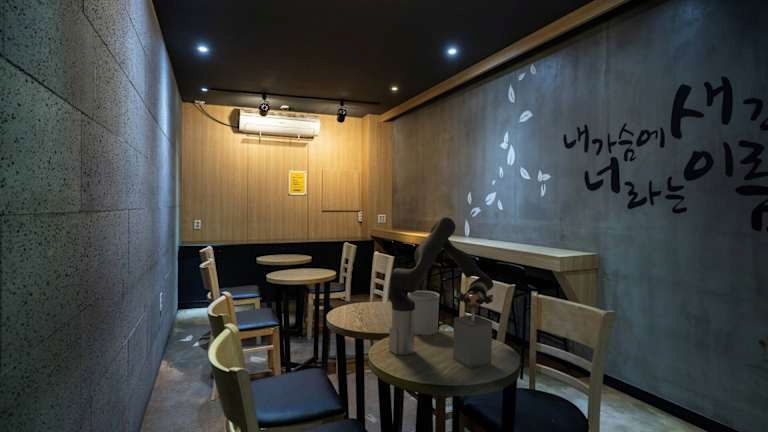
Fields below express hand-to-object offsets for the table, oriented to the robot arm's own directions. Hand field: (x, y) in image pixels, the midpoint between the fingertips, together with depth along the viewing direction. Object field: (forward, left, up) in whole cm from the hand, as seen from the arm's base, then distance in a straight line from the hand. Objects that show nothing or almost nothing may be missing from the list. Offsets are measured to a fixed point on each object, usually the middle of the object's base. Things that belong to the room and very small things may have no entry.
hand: (472, 301), depth 153 cm
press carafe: (+2, +2, -23) cm, 23 cm away
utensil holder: (+5, +42, -23) cm, 48 cm away
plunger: (+2, +2, -21) cm, 21 cm away
